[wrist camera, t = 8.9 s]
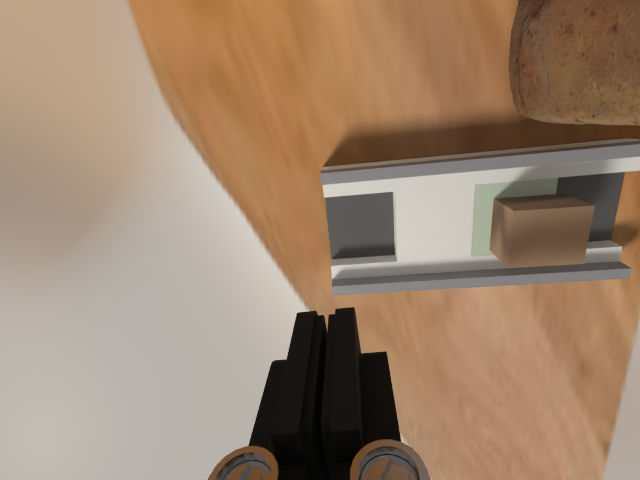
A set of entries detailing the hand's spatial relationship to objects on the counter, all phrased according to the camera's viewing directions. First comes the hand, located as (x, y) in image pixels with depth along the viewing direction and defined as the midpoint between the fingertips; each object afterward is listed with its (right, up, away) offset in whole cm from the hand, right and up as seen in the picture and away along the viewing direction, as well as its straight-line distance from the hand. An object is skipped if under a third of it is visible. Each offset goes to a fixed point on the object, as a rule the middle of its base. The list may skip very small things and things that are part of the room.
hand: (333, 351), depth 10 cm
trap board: (+14, +6, +24) cm, 28 cm away
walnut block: (+18, +5, +22) cm, 29 cm away
